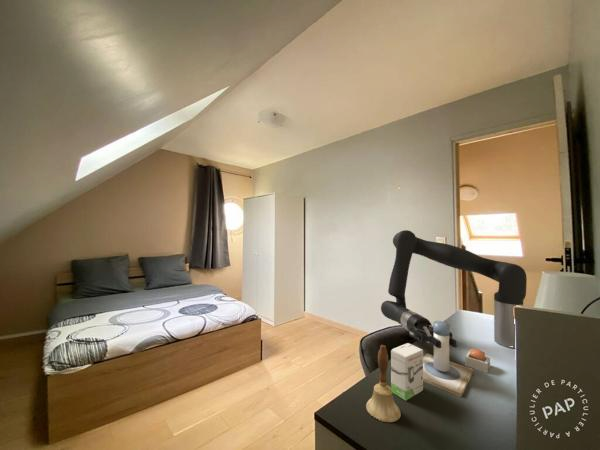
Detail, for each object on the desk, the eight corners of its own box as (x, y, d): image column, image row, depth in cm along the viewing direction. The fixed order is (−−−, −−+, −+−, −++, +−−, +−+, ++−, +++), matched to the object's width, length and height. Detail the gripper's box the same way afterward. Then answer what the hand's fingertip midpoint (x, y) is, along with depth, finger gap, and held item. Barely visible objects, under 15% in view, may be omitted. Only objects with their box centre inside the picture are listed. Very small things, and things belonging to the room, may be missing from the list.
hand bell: (359, 402, 64) (360, 341, 64) (385, 396, 67) (386, 337, 67) (379, 426, 56) (380, 356, 57) (408, 418, 59) (408, 351, 59)
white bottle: (444, 363, 80) (444, 321, 80) (452, 372, 75) (452, 326, 76) (430, 363, 80) (430, 320, 81) (437, 371, 76) (437, 325, 76)
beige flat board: (427, 356, 89) (427, 353, 89) (473, 372, 79) (473, 368, 79) (408, 375, 77) (409, 371, 77) (461, 397, 67) (461, 392, 67)
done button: (471, 353, 86) (471, 347, 86) (485, 357, 83) (485, 351, 83) (469, 357, 83) (469, 351, 83) (483, 361, 80) (483, 355, 80)
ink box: (406, 401, 65) (406, 357, 65) (390, 391, 69) (390, 349, 69) (423, 390, 69) (423, 349, 70) (407, 381, 73) (408, 342, 74)
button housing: (469, 359, 87) (468, 350, 87) (490, 366, 83) (490, 357, 83) (465, 365, 83) (465, 356, 83) (487, 373, 78) (487, 363, 79)
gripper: (397, 314, 91) (426, 333, 74) (432, 313, 93) (468, 331, 76) (397, 334, 91) (426, 358, 74) (432, 333, 93) (468, 355, 76)
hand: (447, 344), depth 75 cm, fingers open, 4 cm apart
